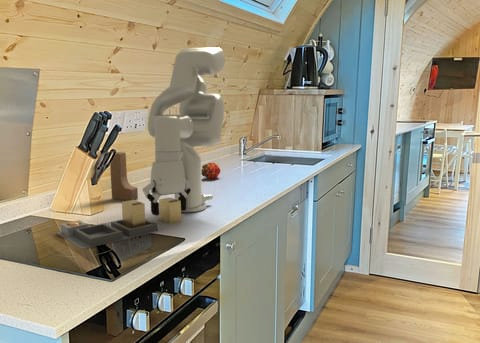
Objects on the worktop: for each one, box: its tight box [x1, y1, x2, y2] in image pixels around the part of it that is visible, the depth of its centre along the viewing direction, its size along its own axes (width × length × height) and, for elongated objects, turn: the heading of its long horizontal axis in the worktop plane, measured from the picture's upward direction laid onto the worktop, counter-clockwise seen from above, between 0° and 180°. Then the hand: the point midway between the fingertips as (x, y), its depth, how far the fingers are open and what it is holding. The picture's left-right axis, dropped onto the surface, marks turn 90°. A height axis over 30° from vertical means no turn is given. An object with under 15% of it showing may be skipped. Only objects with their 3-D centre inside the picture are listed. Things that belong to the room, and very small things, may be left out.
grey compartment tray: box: [56, 218, 163, 250], centre depth 131 cm, size 24×18×4 cm
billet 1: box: [121, 199, 146, 229], centre depth 132 cm, size 4×6×8 cm, turn 42°
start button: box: [69, 221, 79, 226], centre depth 130 cm, size 3×3×2 cm
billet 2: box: [158, 197, 182, 225], centre depth 141 cm, size 4×6×8 cm, turn 42°
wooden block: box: [109, 151, 139, 201], centre depth 175 cm, size 9×4×18 cm, turn 70°
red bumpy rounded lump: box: [201, 162, 221, 180], centre depth 215 cm, size 8×8×12 cm
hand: (169, 212), depth 140 cm, fingers open, 9 cm apart
